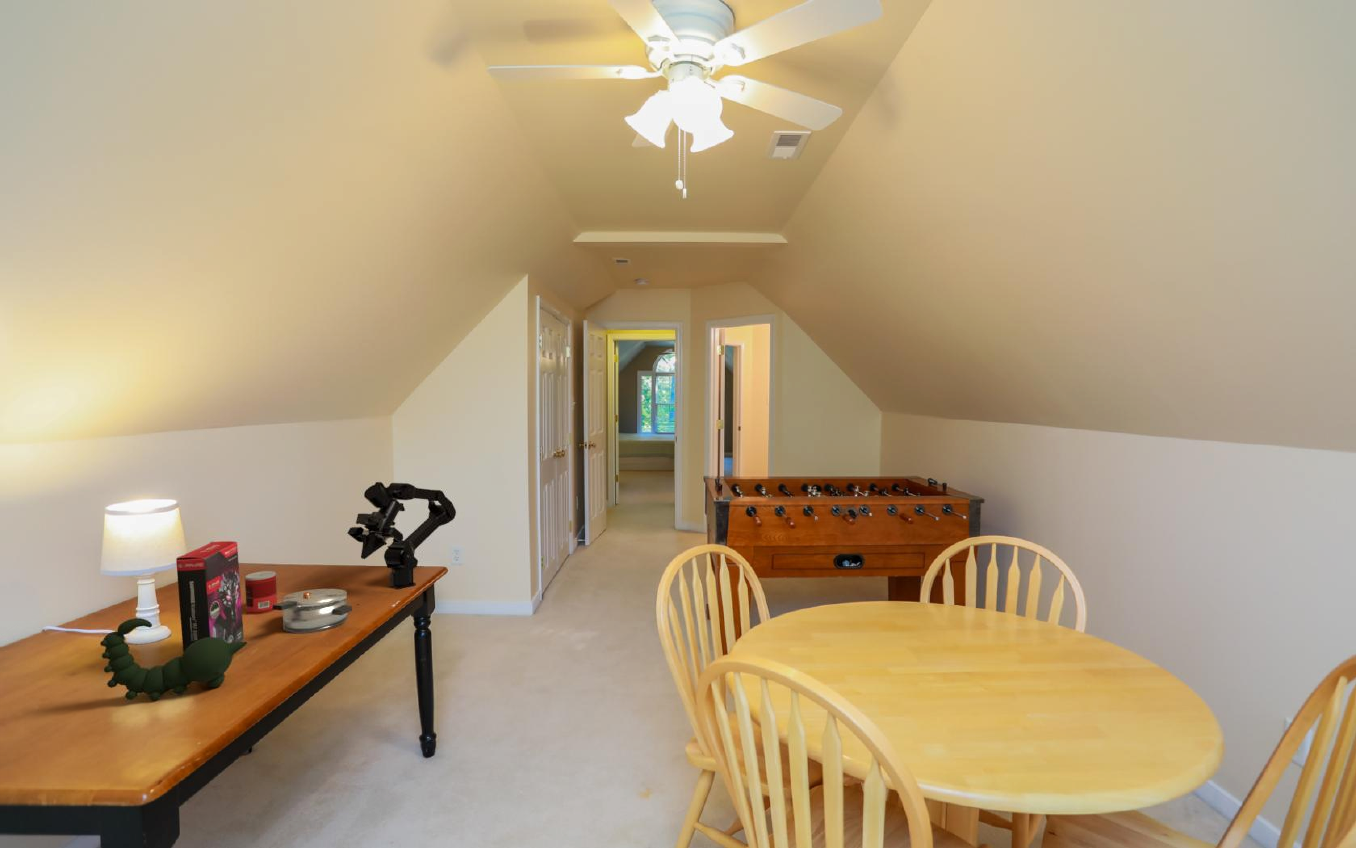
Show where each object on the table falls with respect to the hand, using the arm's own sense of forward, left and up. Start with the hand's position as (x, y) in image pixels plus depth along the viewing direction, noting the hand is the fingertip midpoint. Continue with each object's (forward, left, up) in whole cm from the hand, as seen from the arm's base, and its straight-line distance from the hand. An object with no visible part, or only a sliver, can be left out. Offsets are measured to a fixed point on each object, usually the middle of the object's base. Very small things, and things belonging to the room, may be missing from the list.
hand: (362, 558), depth 204 cm
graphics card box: (+42, +16, -14) cm, 47 cm away
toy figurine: (+52, +35, -14) cm, 64 cm away
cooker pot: (+17, +10, -14) cm, 24 cm away
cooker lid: (+19, +11, -7) cm, 23 cm away
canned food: (+24, -14, -14) cm, 32 cm away
